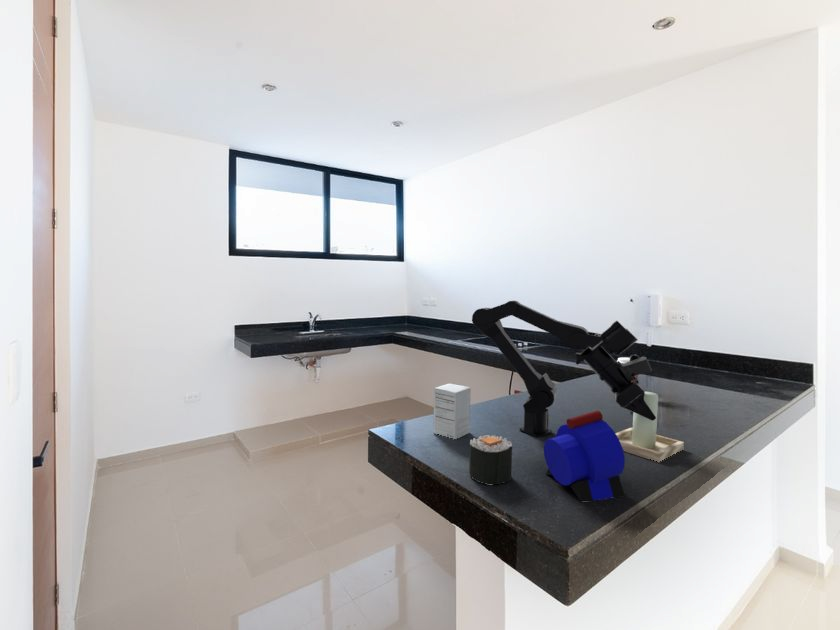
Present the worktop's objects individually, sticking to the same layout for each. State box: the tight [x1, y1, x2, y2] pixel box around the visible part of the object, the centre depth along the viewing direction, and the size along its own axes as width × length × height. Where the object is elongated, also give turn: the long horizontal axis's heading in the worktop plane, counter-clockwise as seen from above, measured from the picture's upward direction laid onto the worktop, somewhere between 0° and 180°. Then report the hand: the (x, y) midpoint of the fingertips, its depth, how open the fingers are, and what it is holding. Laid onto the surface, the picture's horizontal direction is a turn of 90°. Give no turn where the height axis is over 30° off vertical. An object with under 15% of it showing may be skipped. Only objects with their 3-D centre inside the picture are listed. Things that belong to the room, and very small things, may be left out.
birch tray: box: [615, 426, 685, 463], centre depth 104 cm, size 13×13×2 cm
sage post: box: [632, 391, 659, 449], centre depth 103 cm, size 5×5×13 cm
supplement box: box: [433, 383, 472, 440], centre depth 111 cm, size 7×7×13 cm
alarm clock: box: [543, 410, 626, 502], centre depth 83 cm, size 12×12×15 cm
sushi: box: [468, 434, 513, 485], centre depth 86 cm, size 8×8×8 cm
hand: (651, 414), depth 103 cm, fingers open, 9 cm apart
